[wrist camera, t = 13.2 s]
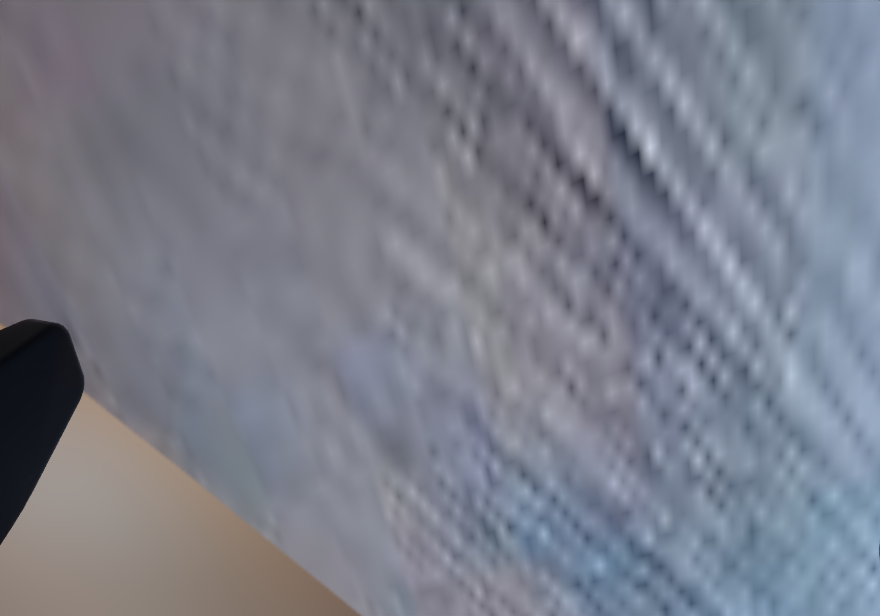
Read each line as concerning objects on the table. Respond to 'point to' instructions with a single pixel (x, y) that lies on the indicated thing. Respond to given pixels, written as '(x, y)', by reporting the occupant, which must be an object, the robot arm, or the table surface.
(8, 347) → the robot arm
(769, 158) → the table surface
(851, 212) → the table surface
